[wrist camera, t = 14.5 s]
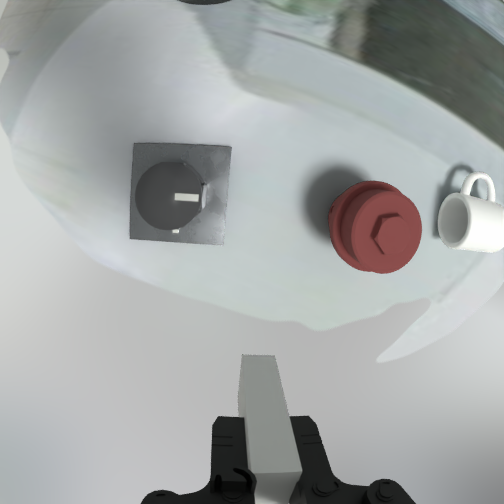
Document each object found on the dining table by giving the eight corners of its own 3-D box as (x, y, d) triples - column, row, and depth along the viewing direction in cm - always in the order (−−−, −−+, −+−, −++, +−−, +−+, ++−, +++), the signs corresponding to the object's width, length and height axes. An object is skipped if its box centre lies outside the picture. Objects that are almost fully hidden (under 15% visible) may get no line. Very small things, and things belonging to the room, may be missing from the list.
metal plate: (136, 143, 35) (123, 140, 30) (231, 147, 36) (231, 144, 31) (132, 237, 38) (119, 246, 33) (223, 243, 39) (222, 254, 34)
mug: (473, 245, 42) (504, 258, 34) (433, 241, 41) (465, 255, 33) (483, 176, 39) (516, 180, 31) (443, 163, 38) (477, 165, 30)
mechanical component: (393, 221, 40) (341, 267, 41) (355, 163, 37) (297, 210, 38) (446, 242, 28) (380, 304, 29) (404, 162, 25) (326, 228, 27)
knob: (148, 220, 36) (133, 228, 30) (151, 163, 35) (136, 160, 29) (204, 224, 37) (199, 232, 31) (208, 166, 35) (204, 163, 29)
